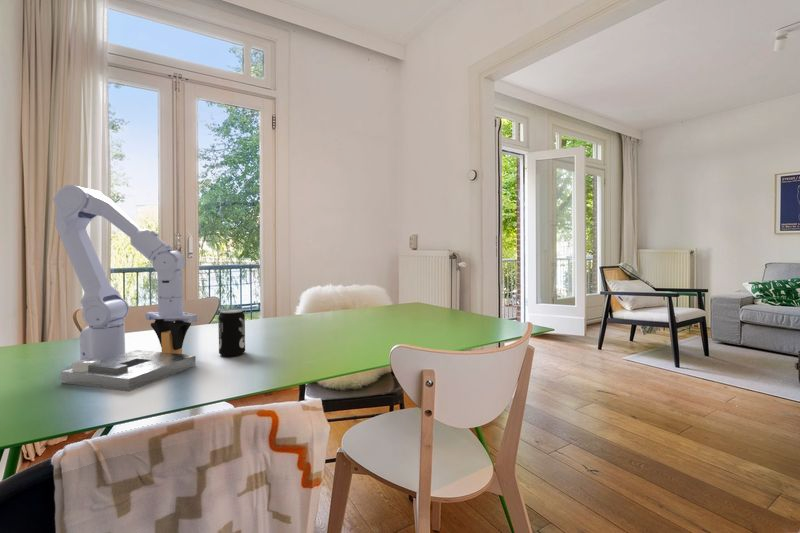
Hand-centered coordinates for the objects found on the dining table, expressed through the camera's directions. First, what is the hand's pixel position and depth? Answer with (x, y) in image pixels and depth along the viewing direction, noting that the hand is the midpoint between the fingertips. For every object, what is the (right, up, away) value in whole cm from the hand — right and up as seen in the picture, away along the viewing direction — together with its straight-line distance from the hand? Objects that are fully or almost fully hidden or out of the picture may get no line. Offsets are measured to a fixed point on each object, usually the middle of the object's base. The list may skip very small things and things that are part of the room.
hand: (171, 348), depth 104 cm
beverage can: (+14, -3, +4) cm, 15 cm away
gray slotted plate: (-1, -3, -13) cm, 13 cm away
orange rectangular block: (0, -2, 0) cm, 2 cm away
